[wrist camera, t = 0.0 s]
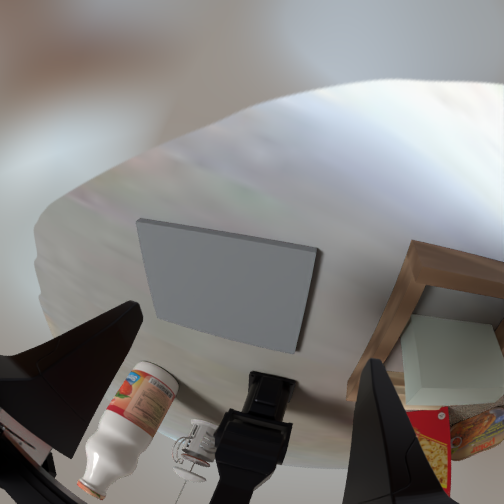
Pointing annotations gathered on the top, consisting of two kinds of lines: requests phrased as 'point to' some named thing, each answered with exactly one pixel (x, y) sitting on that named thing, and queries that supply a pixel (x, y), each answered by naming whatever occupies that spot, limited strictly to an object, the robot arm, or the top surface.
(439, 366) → the panel
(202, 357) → the top surface
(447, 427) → the food packaging
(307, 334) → the top surface
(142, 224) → the mat
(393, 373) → the offcut stack
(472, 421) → the tin
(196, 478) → the french press
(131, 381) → the fruit juice
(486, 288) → the brown rectangular shallow frame
